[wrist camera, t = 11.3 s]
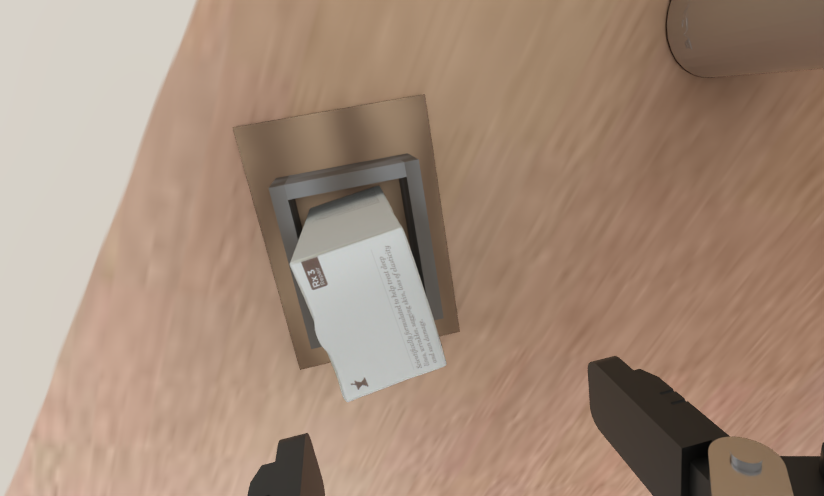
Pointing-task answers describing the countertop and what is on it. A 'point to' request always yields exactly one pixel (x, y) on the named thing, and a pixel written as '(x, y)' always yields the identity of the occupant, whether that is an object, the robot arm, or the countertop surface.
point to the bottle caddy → (341, 176)
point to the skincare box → (365, 294)
